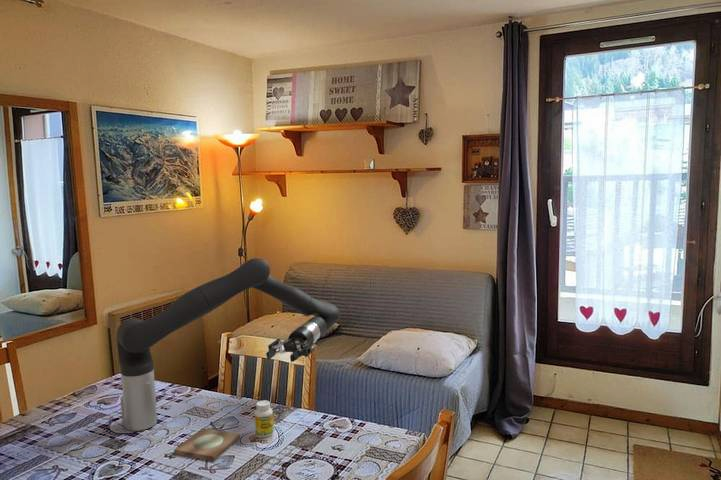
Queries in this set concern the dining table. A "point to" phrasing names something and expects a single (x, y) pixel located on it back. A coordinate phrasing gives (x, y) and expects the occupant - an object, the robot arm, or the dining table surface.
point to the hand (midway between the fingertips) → (279, 357)
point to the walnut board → (207, 444)
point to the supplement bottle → (264, 419)
